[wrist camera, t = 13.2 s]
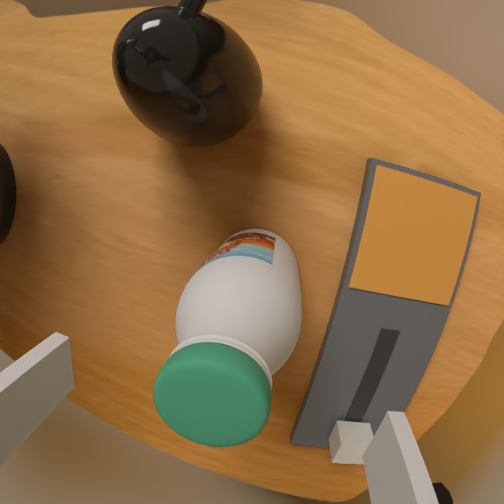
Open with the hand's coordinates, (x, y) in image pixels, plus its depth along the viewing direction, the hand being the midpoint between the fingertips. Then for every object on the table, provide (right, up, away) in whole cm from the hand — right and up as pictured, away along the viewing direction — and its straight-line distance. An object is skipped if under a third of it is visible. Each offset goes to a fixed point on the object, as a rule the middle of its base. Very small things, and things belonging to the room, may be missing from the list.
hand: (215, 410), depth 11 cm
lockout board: (+15, -2, +19) cm, 24 cm away
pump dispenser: (-2, +20, +16) cm, 26 cm away
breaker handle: (+12, -14, +20) cm, 28 cm away
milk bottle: (+2, +5, +19) cm, 20 cm away
